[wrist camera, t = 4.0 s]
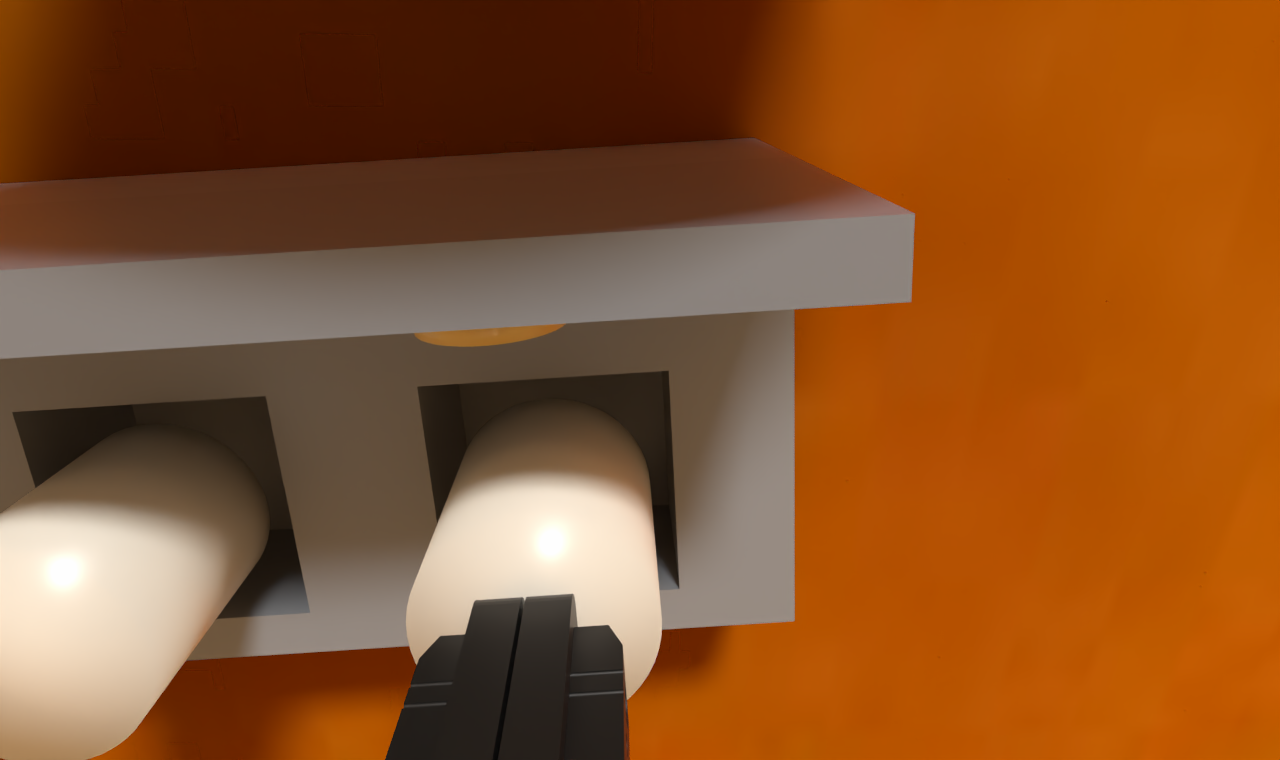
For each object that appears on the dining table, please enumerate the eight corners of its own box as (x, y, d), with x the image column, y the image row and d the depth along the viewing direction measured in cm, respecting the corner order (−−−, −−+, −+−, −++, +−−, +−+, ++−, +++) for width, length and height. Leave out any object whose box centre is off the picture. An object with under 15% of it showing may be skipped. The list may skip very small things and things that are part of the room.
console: (-351, 204, 21) (-1481, 361, 10) (753, 137, 21) (915, 212, 10) (-196, 576, 24) (-905, 1018, 13) (759, 514, 24) (885, 898, 13)
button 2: (447, 404, 18) (388, 523, 13) (644, 392, 18) (655, 505, 13) (470, 577, 19) (424, 740, 15) (654, 565, 19) (668, 724, 15)
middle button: (50, 430, 18) (-150, 557, 13) (248, 417, 18) (119, 540, 13) (101, 601, 19) (-66, 772, 15) (285, 589, 19) (180, 756, 15)
